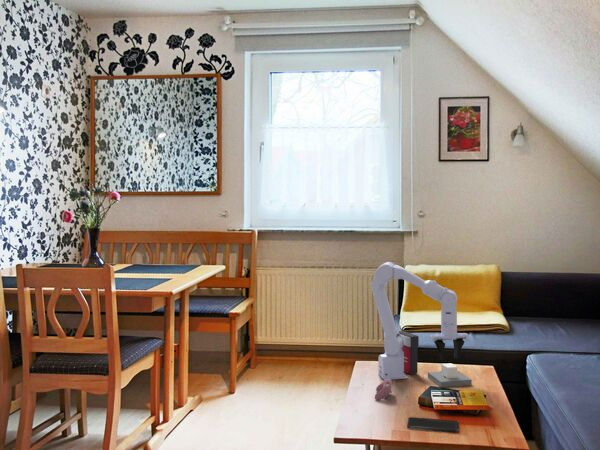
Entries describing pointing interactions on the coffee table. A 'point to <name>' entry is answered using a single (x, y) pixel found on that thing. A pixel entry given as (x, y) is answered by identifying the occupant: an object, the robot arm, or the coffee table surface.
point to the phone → (433, 424)
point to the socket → (449, 379)
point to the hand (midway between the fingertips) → (449, 359)
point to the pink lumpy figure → (383, 389)
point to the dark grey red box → (410, 352)
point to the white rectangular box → (449, 370)
